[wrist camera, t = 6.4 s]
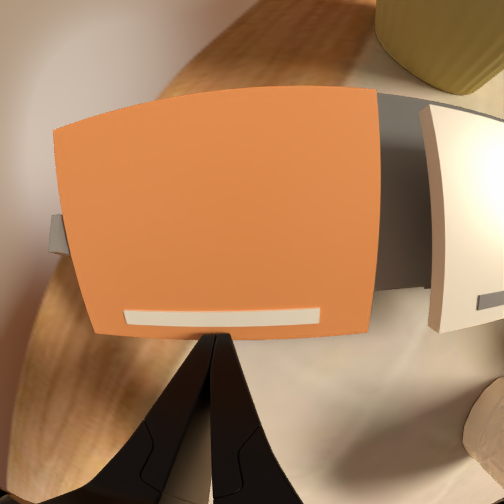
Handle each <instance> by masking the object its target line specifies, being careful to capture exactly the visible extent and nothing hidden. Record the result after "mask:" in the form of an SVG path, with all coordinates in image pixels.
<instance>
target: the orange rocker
mask: <svg viewBox="0 0 504 504" xmlns="http://www.w3.org/2000/svg"><path fill="white" fill-rule="evenodd" d="M53 137H54V153H55V164H56V174H57V182H58V189H59V196H60V202H61V209H62V215H63V220H64V225H65V230H66V235H67V240H68V244H69V249H70V253H71V257H72V261H73V265H74V269H75V272H76V276H77V280H78V283H79V287H80V290H81V293H82V296H83V300H84V303H85V306H86V309H87V312H88V315H89V318H90V321H91V323H92V326H93V329H94V332H95V333H97V334H107V335H118V336H130V337H144V338H161V339H185V340H199V339H200V338H201V336H202V335H203V334H207V333H215V334H218V333H230V335H231V338H232V340H268V339H292V338H310V337H324V336H337V335H348V334H358V333H367V332H368V326H369V320H370V314H371V307H372V299H373V292H374V283H375V274H376V264H377V253H378V240H379V223H380V195H381V159H380V131H379V115H378V103H377V92H376V89H366V88H354V87H337V86H267V87H251V88H238V89H228V90H218V91H210V92H203V93H196V94H189V95H183V96H177V97H172V98H166V99H161V100H156V101H151V102H147V103H143V104H138V105H134V106H130V107H126V108H122V109H118V110H114V111H111V112H107V113H103V114H100V115H97V116H94V117H90V118H87V119H84V120H81V121H78V122H75V123H72V124H69V125H66V126H64V127H61V128H58V129H56V130H53Z"/></svg>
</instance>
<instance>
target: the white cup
mask: <svg viewBox="0 0 504 504" xmlns="http://www.w3.org/2000/svg"><path fill="white" fill-rule="evenodd" d="M462 443H463V445H464V447H465V449H466V451H467V453H468V454H469V455H470V456H472V457H473V458H474V459H475V460H476V461H477V462H478V463H480V465H481V466H482V468H483V469H484V470H485V471H486V472H487V473H488V474H490V475H491V476H492V477H493V479H494V480H495V481H496V482H497V483H498V484H499V485H500V486H501V487H503V488H504V377H501V378H498V379H496V380H495V381H494V382H493V383H492V384H491V385H489V386H488V387H487V388H486V389H485V390H484V391H483V393H482V394H481V395H480V397H479V398H478V400H477V401H476V403H475V404H474V405H473V407H472V409H471V411H470V414H469V416H468V418H467V421H466V423H465V425H464V432H463V439H462Z"/></svg>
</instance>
